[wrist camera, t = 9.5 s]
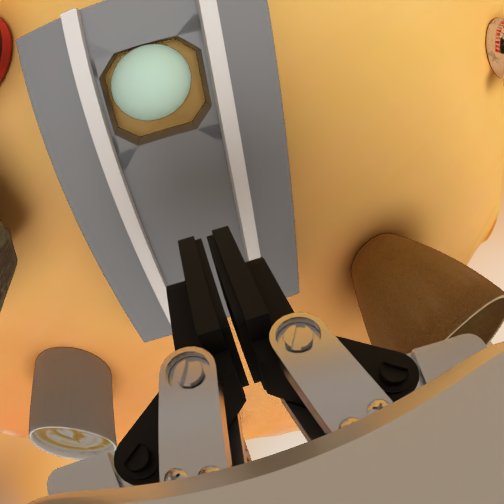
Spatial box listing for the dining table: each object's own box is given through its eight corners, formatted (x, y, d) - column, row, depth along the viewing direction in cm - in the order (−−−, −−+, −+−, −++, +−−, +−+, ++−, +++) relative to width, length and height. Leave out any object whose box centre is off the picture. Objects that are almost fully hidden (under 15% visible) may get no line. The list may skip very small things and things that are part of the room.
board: (289, 277, 33) (303, 299, 30) (142, 324, 31) (145, 350, 28) (250, -21, 16) (267, -32, 13) (28, 41, 13) (9, 39, 11)
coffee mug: (40, 336, 27) (29, 417, 20) (121, 359, 33) (128, 437, 25) (31, 393, 32) (27, 457, 24) (95, 409, 37) (100, 471, 30)
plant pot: (395, 177, 30) (513, 268, 18) (430, 247, 39) (508, 324, 26) (295, 275, 33) (375, 402, 21) (354, 320, 42) (416, 410, 30)
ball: (165, 35, 17) (215, 50, 16) (156, 98, 21) (200, 122, 19) (99, 43, 14) (142, 57, 12) (96, 114, 18) (136, 142, 16)
